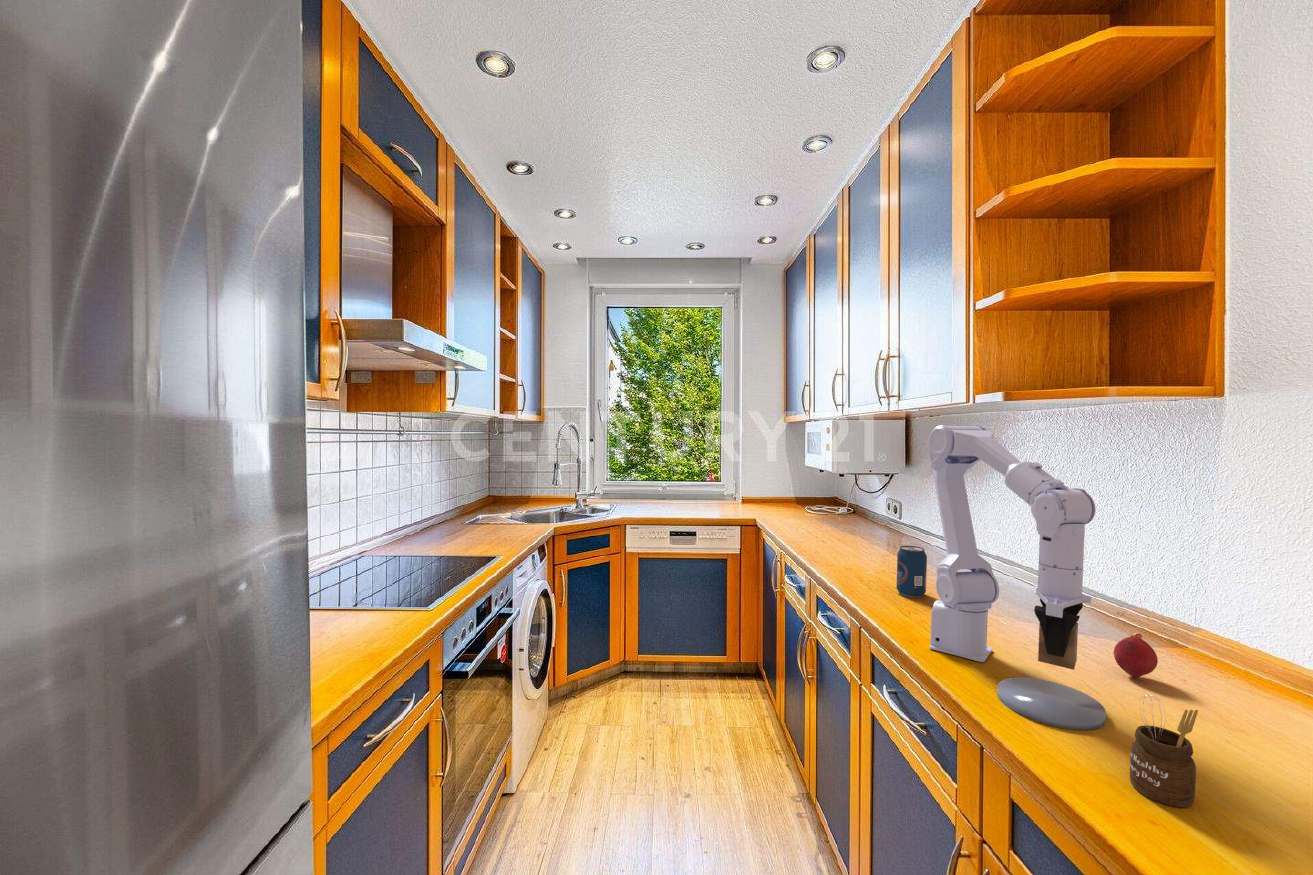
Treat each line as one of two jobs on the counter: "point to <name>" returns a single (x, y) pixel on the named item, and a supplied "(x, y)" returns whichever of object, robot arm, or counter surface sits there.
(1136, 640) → the onion
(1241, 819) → the counter surface
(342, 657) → the counter surface
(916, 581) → the soda can
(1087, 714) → the plate
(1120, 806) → the counter surface
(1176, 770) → the utensil holder
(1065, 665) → the walnut stool block
